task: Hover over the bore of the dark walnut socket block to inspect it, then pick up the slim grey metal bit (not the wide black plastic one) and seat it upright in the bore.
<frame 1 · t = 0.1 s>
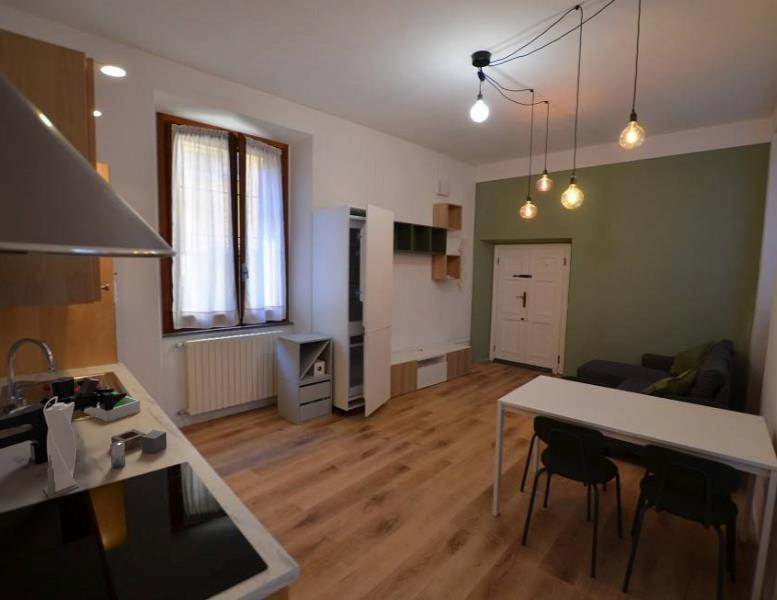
hand: (120, 391, 156), 17 cm above the worktop, tool horizontal, fingers open, 9 cm apart
socket block: (129, 445, 147), on the worktop
bit round: (118, 466, 132), on the worktop
mechanical part: (112, 412, 177), resting in part corral
part corral: (112, 411, 177), on the worktop
skyscraper: (62, 487, 120), on the worktop
bit square wide: (154, 449, 144), on the worktop
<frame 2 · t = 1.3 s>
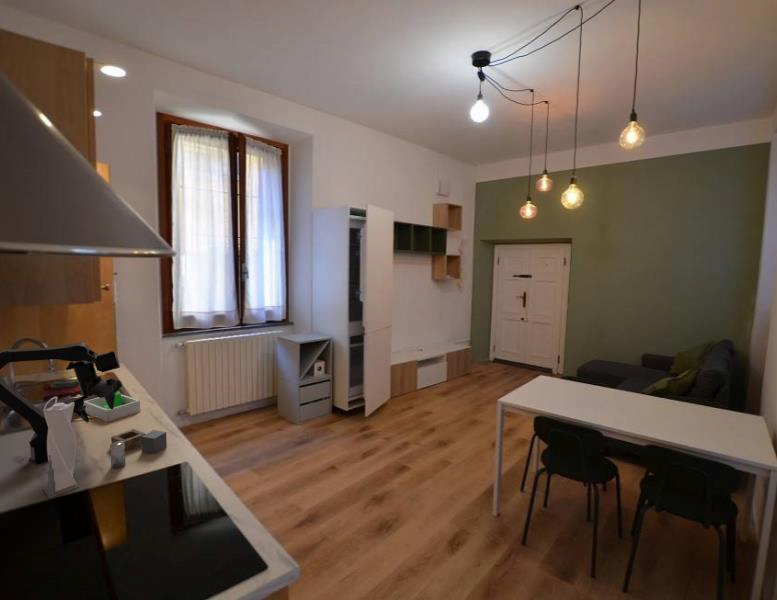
hand: (100, 415, 143), 12 cm above the worktop, tool pointing down, fingers open, 9 cm apart
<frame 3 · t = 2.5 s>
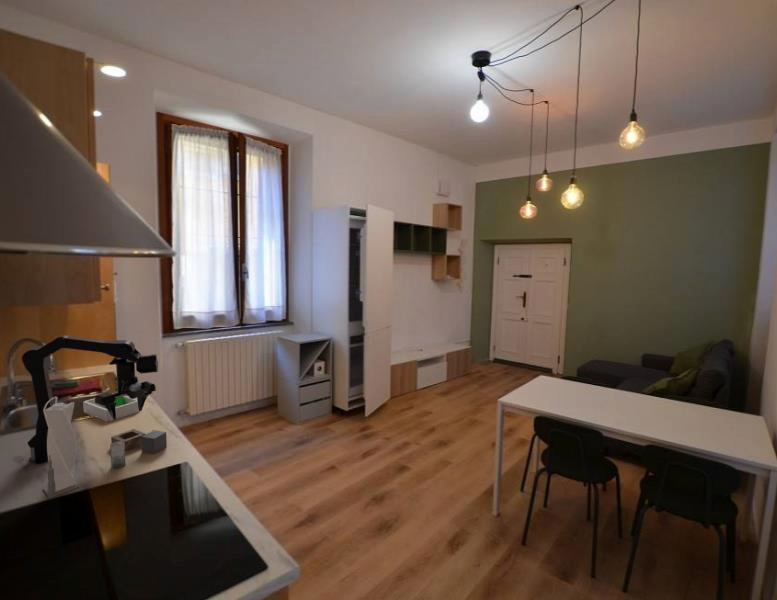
hand: (127, 414, 145), 12 cm above the worktop, tool pointing down, fingers open, 9 cm apart
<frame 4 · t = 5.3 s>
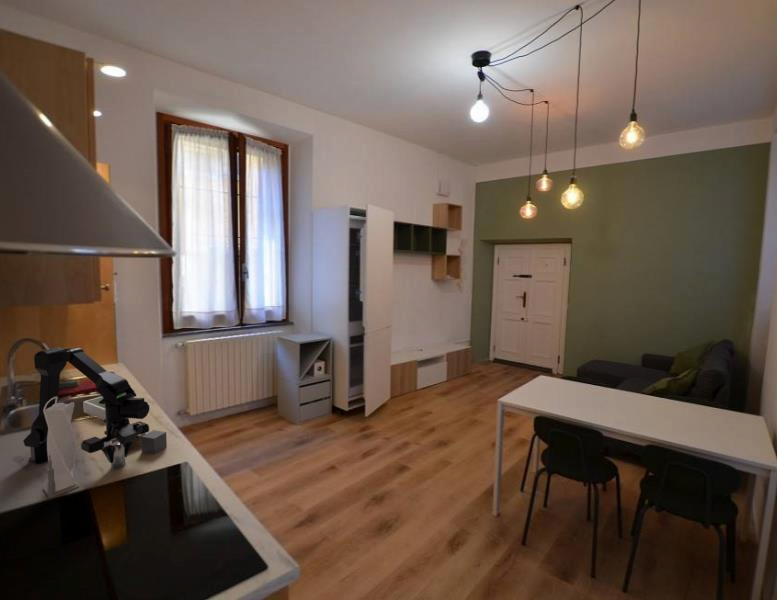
hand: (118, 459, 132), 2 cm above the worktop, tool pointing down, fingers closed on bit round, 4 cm apart
bit round: (118, 466, 132), on the worktop, touching gripper
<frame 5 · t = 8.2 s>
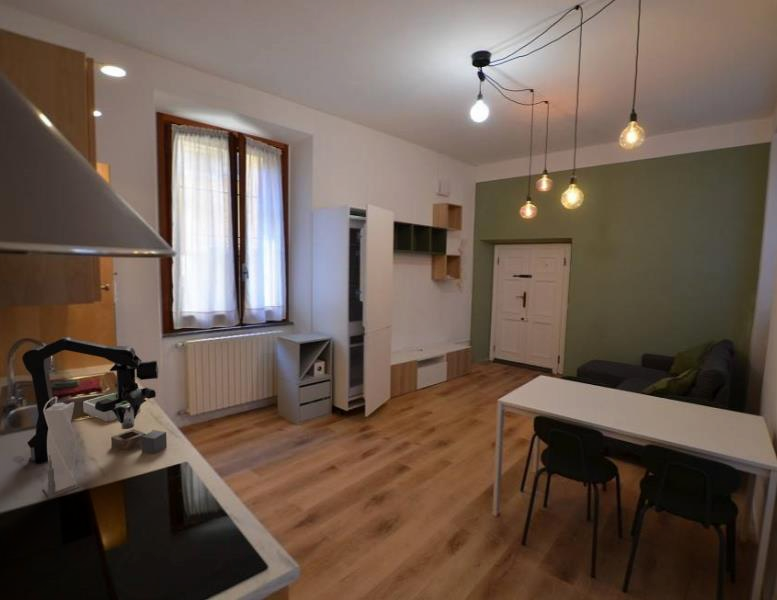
hand: (127, 421, 146), 10 cm above the worktop, tool pointing down, fingers closed on bit round, 4 cm apart
bit round: (128, 426, 146), point 7 cm above the worktop, touching gripper
when the fingers open (4 cm above the worktop, at t = 9.7 s): bit round drops 1 cm, resting on socket block.
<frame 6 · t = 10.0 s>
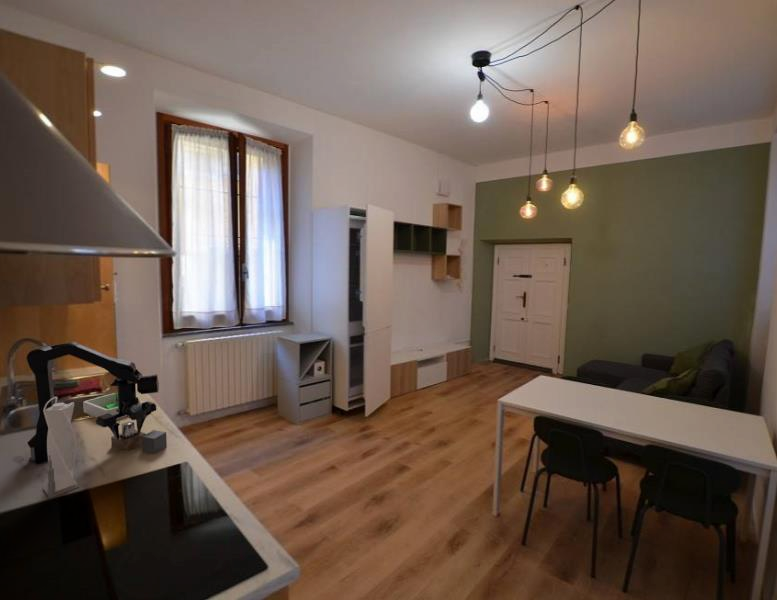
hand: (128, 435, 146), 4 cm above the worktop, tool pointing down, fingers open, 7 cm apart
bit round: (128, 444, 146), point 1 cm above the worktop, touching socket block
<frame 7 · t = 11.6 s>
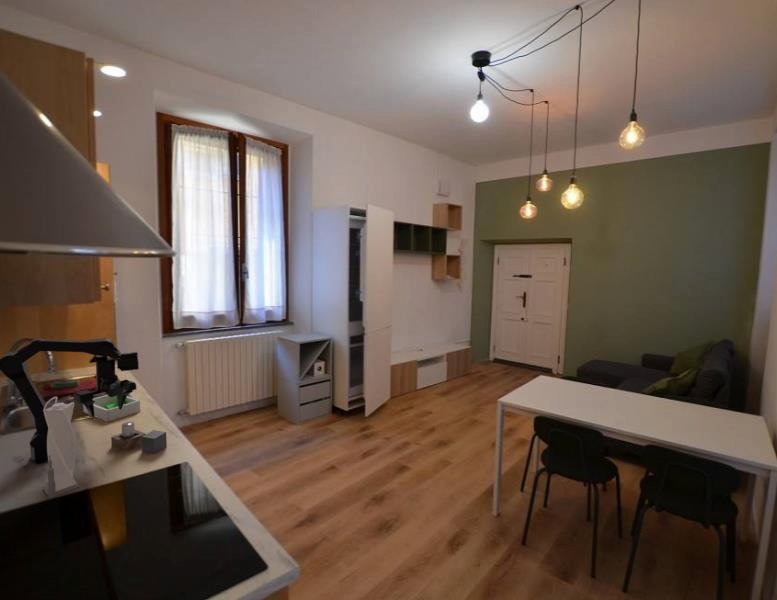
hand: (106, 413, 145), 13 cm above the worktop, tool pointing down, fingers open, 9 cm apart
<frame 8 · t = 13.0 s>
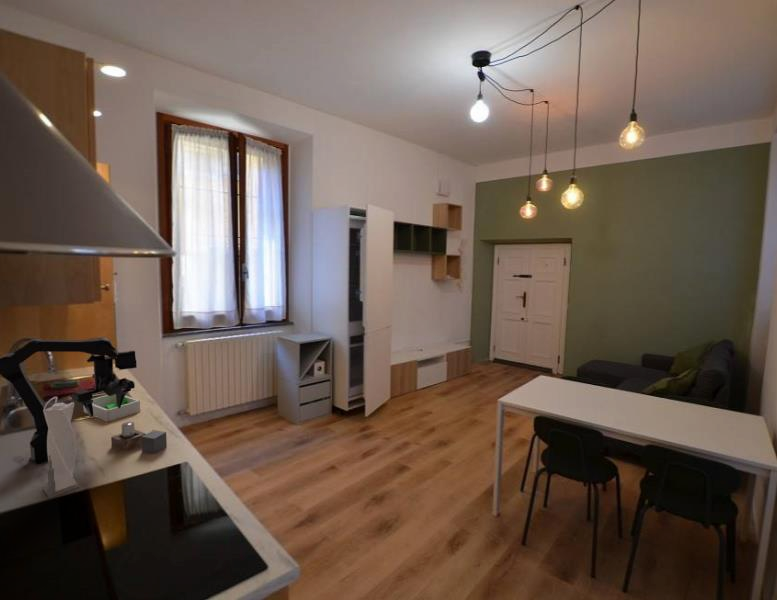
hand: (105, 412, 145), 13 cm above the worktop, tool pointing down, fingers open, 9 cm apart
at the end: bit round 0.1 cm off-centre on the socket block, point 0.5 cm above the socket block's base; bit round tilted 0°; the gripper is holding nothing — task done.
